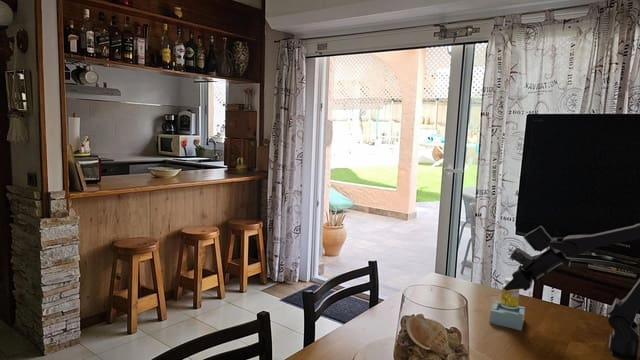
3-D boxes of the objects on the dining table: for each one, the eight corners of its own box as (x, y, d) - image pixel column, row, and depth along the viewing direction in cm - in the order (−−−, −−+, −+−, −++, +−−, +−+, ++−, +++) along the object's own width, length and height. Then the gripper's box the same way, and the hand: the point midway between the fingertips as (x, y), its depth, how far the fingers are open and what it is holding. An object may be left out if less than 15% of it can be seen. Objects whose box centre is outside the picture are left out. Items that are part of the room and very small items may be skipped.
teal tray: (523, 319, 151) (525, 307, 151) (521, 330, 142) (522, 317, 142) (493, 312, 156) (494, 300, 155) (489, 322, 147) (490, 310, 147)
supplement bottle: (520, 309, 146) (523, 282, 145) (506, 309, 145) (508, 282, 144) (511, 303, 151) (514, 276, 150) (497, 303, 151) (499, 276, 149)
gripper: (533, 237, 151) (497, 261, 159) (521, 248, 136) (483, 274, 144) (556, 263, 147) (518, 287, 155) (547, 277, 132) (506, 302, 140)
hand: (506, 286), depth 148 cm, fingers closed on supplement bottle, 5 cm apart
